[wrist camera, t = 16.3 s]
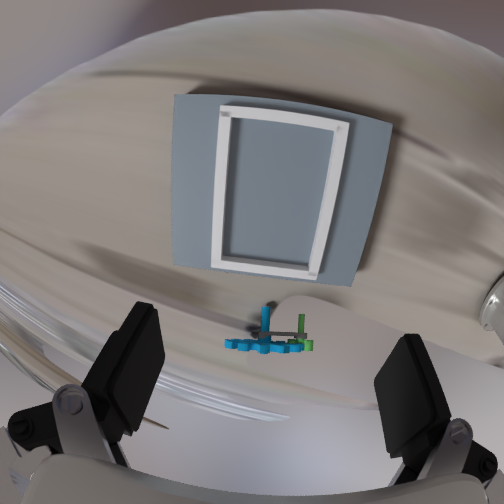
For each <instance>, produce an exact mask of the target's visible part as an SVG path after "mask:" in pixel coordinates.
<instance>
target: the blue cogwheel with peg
mask: <svg viewBox="0 0 504 504" xmlns="http://www.w3.org/2000/svg"><path fill="white" fill-rule="evenodd" d="M270 308H271V307H262V322H261V331H258V340H252V339H244V340H241V339H231V340H229V339H225V348H230V349H236V348H238V350H239V351H249V350H256V351H258V352H259V353H260V354H268V353H270V351H271V352H278V353H289V352H301V351H303V350H305V351H313V340H304V339H307V333H304V317H305V315H304V314H299V323H298V333H293V332H269V325H270ZM271 335H277V336H294V338H296V340H295V339H288V342H287V343H285V341H276V342H273V341H271ZM302 343H305V344H302ZM304 345H305V349H304Z"/></svg>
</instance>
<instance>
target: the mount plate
mask: <svg viewBox="0 0 504 504" xmlns="http://www.w3.org/2000/svg"><path fill="white" fill-rule="evenodd" d="M392 127H393V124H391V123H388V122H385V121H381V120H378V119H374V118H370V117H366V116H363V115H359V114H354V113H350V112H346V111H341V110H337V109H332V108H327V107H322V106H317V105H311V104H305V103H299V102H292V101H285V100H277V99H269V98H259V97H248V96H234V95H213V94H175V99H174V113H173V132H172V162H171V215H172V246H173V265H179V266H186V267H193V268H200V269H208V270H215V271H223V272H230V273H238V274H246V275H253V276H261V277H270V278H278V279H286V280H295V281H303V282H312V283H321V284H330V285H340V286H349V287H351V285H352V282H353V280H354V277H355V274H356V271H357V268H358V265H359V262H360V258H361V255H362V252H363V249H364V246H365V242H366V239H367V236H368V232H369V229H370V225H371V222H372V218H373V214H374V210H375V207H376V203H377V199H378V195H379V191H380V186H381V182H382V178H383V173H384V169H385V164H386V159H387V154H388V149H389V144H390V138H391V133H392Z"/></svg>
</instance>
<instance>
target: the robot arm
mask: <svg viewBox="0 0 504 504" xmlns="http://www.w3.org/2000/svg"><path fill="white" fill-rule="evenodd" d="M479 322H480V325H481V326H482V328H483V329H484V330H486V331H493V330H495V332H496V334H497V335H498V337H499V338H500V340H501V341H502V343H503V345H504V276H503V277H502V278H501V279H500V280H499V281H498V282H497V283H496V284H495V286H494V287H493V288H492V290H491V291H490V292H489V294H488V296H487V297H486V299H485V301H484V303H483V305H482V308H481V311H480V316H479ZM164 360H165V352H164V346H163V341H162V335H161V330H160V323H159V317H158V311H157V309H154V307H153V305H152V304H149V303H144V302H139V301H138V302H136V303H135V305H134V307H133V308H132V310H131V311H130V313H129V314H128V316H127V318H126V319H125V321H124V322H123V324H122V326H121V327H120V329H119V331H118V330H116V331H114V332H113V333H112V334H111V335H110V337H109V339H108V340H107V342H106V344H105V345H104V347H103V349H102V350H101V352H100V354H99V355H98V357H97V359H96V360H95V362H94V364H93V365H92V367H91V369H90V371H89V372H88V375H87V376H86V378H85V380H84V382H83V383H82V385H81V386H79V385H75V384H66V385H64V386H61V387H60V388H59V389H58V390H57V391H56V392H55V394H54V396H53V399H52V402H49V403H45V404H42V405H39V406H35V407H32V408H28V409H25V410H21V411H18V412H16V413H14V414H13V415H12V416H11V418H10V419H9V422H8V427H7V428H5V427H2V428H0V504H504V474H503V473H502V471H501V470H500V469H499V470H497V468H498V462H497V458H496V457H495V455H494V454H493V453H492V452H490V451H489V450H487V449H486V448H484V447H483V446H481V445H479V444H478V443H476V442H475V441H473V440H472V439H473V431H472V428H471V426H470V425H469V423H468V422H467V421H465V420H463V419H461V418H456V419H453V420H452V421H451V420H450V418H451V413H450V410H449V407H448V404H447V401H446V398H445V395H444V392H443V390H442V387H441V384H440V382H439V379H438V377H437V374H436V372H435V369H434V367H433V364H432V362H431V359H430V357H429V355H428V352H427V350H426V348H425V345H424V343H423V341H422V339H421V337H420V335H419V334H405V335H404V336H403V337H401V338H400V339H399V340H398V342H397V344H396V346H395V347H394V349H393V350H392V352H391V354H390V355H389V357H388V358H387V360H386V362H385V363H384V365H383V366H382V368H381V369H380V371H379V372H378V374H377V375H376V377H375V379H374V387H375V392H376V396H377V401H378V406H379V411H380V416H381V421H382V427H383V432H384V438H385V444H386V450H387V452H388V453H390V457H391V458H397V457H402V458H403V462H402V464H401V466H400V467H399V469H398V471H397V472H396V474H395V476H394V477H393V479H392V481H391V482H390V483H389V485H388V487H385V488H379V489H374V490H368V491H360V492H353V493H344V494H333V495H317V496H272V495H256V494H245V493H236V492H228V491H221V490H215V489H208V488H203V487H198V486H193V485H188V484H184V483H180V482H176V481H171V480H168V479H164V478H160V477H156V476H153V475H149V474H146V473H143V472H140V471H136V470H133V469H131V467H130V465H129V463H128V460H127V458H126V456H125V454H124V452H123V449H122V447H121V445H120V442H119V441H120V440H121V438H122V435H123V434H125V435H128V436H132V433H133V431H135V432H136V431H137V430H138V429H139V426H140V423H141V421H142V418H143V416H144V413H145V410H146V407H147V405H148V402H149V399H150V397H151V394H152V392H153V389H154V387H155V384H156V381H157V379H158V376H159V374H160V371H161V369H162V366H163V364H164ZM33 472H34V474H33ZM32 474H33V475H32ZM31 475H32V478H31V480H30V476H31Z"/></svg>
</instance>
